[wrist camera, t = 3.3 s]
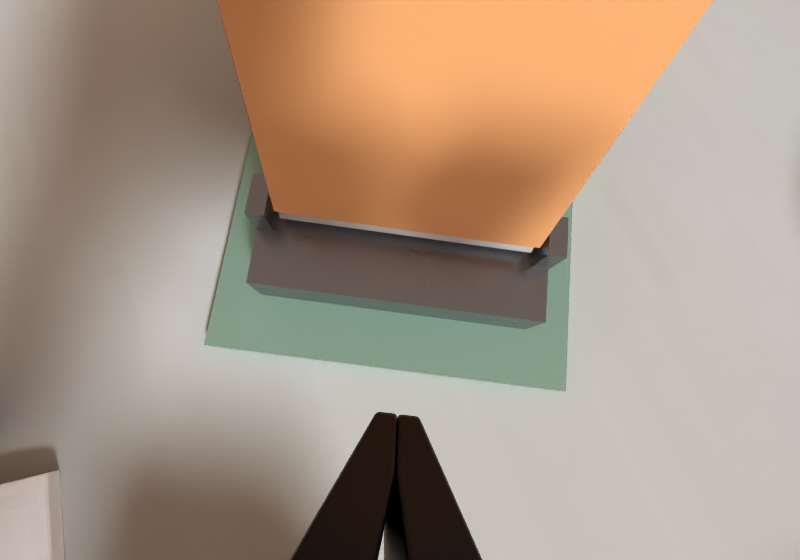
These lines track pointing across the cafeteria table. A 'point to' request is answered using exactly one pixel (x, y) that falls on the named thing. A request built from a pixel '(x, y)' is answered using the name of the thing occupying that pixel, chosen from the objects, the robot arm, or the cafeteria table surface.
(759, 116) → the cafeteria table surface
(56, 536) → the external hard drive
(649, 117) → the cafeteria table surface
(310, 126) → the orange upright panel
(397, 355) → the green flat slab
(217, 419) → the cafeteria table surface
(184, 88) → the cafeteria table surface
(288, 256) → the grey stand
